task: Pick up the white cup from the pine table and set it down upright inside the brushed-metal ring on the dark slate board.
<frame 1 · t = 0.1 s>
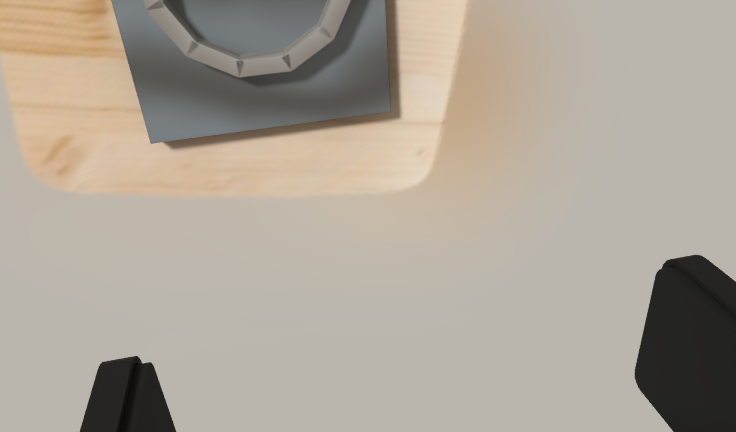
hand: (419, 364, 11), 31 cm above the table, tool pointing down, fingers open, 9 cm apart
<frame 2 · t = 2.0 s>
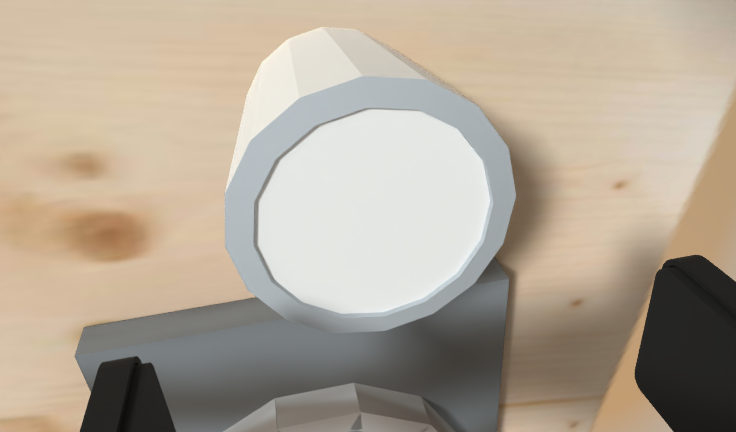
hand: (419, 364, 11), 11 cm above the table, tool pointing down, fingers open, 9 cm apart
white cup: (331, 111, 19), on the table
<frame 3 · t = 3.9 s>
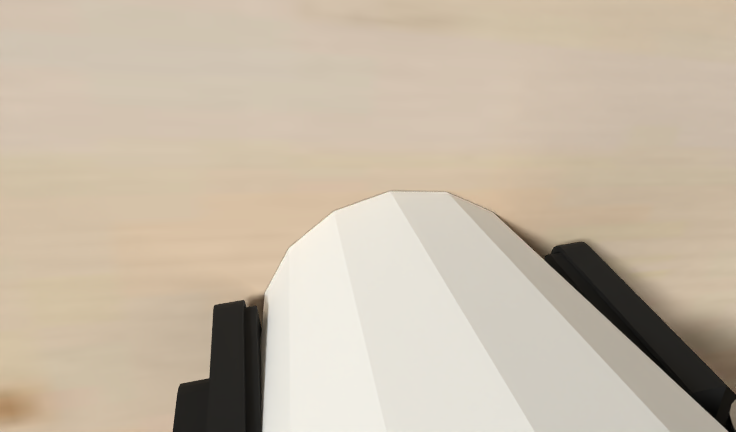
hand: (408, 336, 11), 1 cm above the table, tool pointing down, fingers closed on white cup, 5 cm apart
white cup: (396, 305, 12), on the table, touching gripper
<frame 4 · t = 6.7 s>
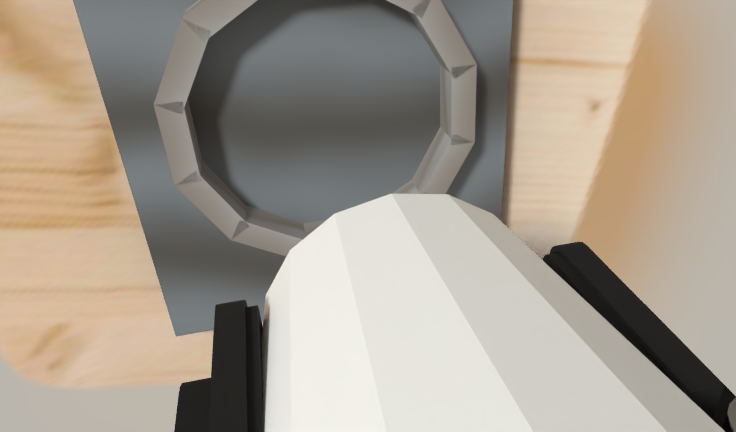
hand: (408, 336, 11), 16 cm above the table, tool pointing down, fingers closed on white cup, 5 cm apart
ring board: (316, 100, 25), on the table
white cup: (397, 307, 12), point 15 cm above the table, touching gripper
when the fingers open (3 cm above the table, at t = 9.8 s): white cup drops 1 cm, resting on ring board.
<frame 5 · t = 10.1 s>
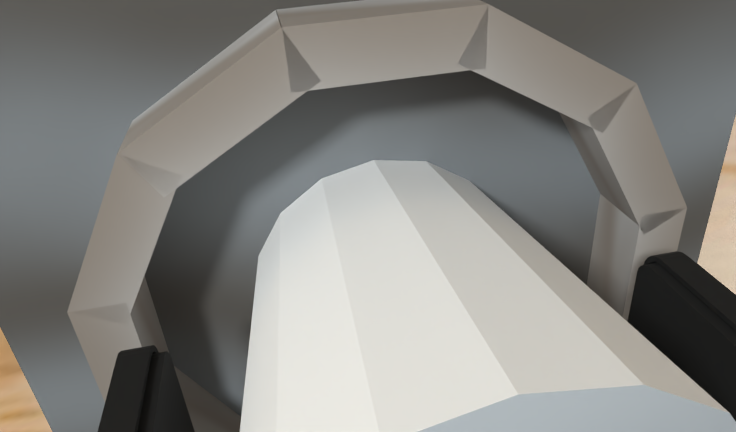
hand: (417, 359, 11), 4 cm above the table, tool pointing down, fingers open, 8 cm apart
ring board: (373, 244, 14), on the table
white cup: (381, 269, 13), point 1 cm above the table, touching ring board
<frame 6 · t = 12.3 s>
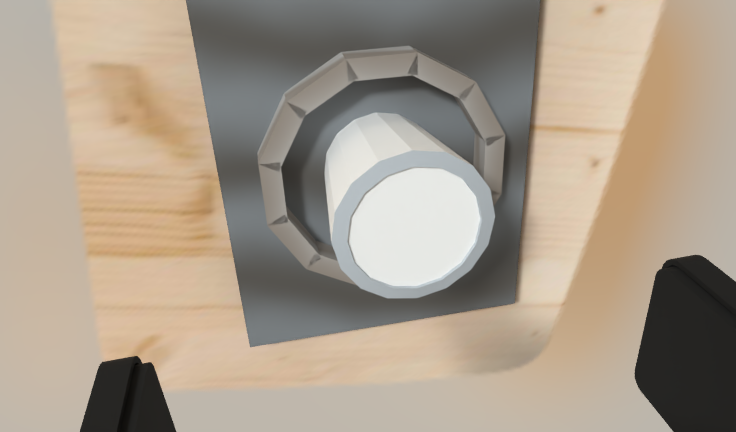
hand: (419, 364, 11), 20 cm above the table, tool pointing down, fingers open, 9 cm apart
ring board: (374, 157, 31), on the table
white cup: (378, 164, 30), point 1 cm above the table, touching ring board
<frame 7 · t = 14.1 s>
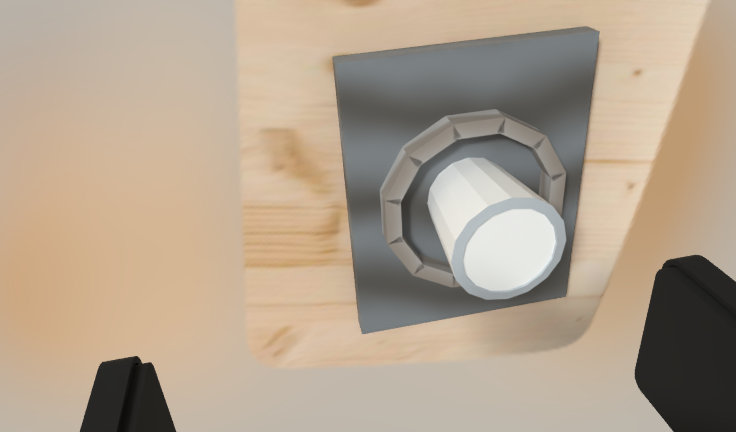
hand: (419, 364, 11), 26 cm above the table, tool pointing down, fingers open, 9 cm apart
ring board: (461, 188, 40), on the table
white cup: (467, 194, 39), point 1 cm above the table, touching ring board
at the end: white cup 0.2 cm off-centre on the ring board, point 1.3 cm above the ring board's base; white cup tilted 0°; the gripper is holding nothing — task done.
